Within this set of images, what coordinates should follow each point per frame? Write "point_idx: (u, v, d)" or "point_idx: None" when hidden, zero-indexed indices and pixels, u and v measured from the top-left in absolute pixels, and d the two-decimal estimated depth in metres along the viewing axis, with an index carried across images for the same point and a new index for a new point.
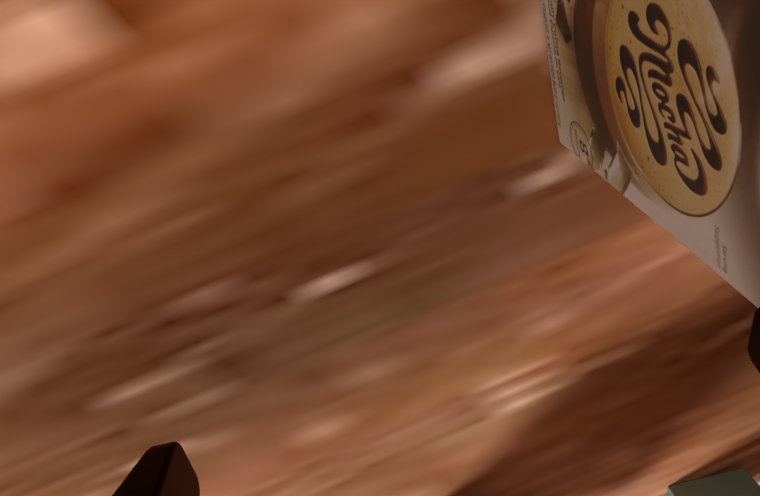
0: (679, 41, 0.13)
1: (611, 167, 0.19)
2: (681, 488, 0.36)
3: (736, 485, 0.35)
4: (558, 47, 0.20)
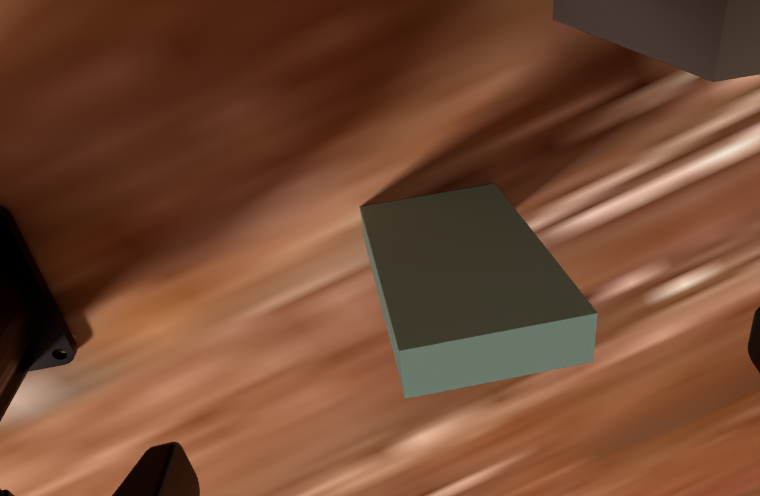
0: None
1: None
2: (379, 207, 0.21)
3: (470, 200, 0.20)
4: None
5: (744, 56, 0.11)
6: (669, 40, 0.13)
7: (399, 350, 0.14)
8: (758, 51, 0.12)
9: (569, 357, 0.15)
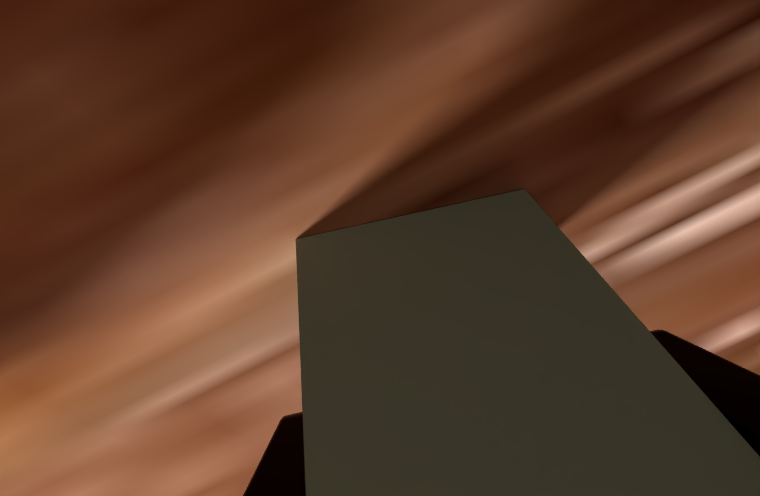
0: None
1: None
2: (327, 240, 0.12)
3: (484, 221, 0.12)
4: None
5: None
6: None
7: None
8: None
9: None
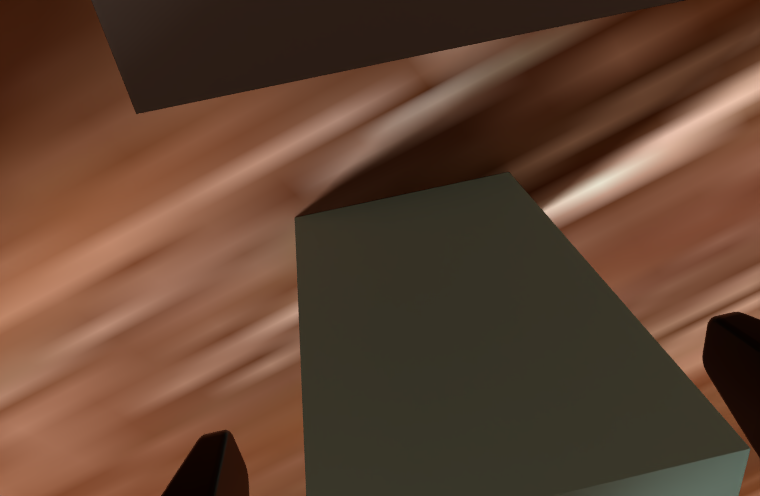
0: None
1: None
2: (324, 218, 0.13)
3: (470, 201, 0.12)
4: None
5: (202, 26, 0.04)
6: None
7: None
8: (252, 9, 0.04)
9: None
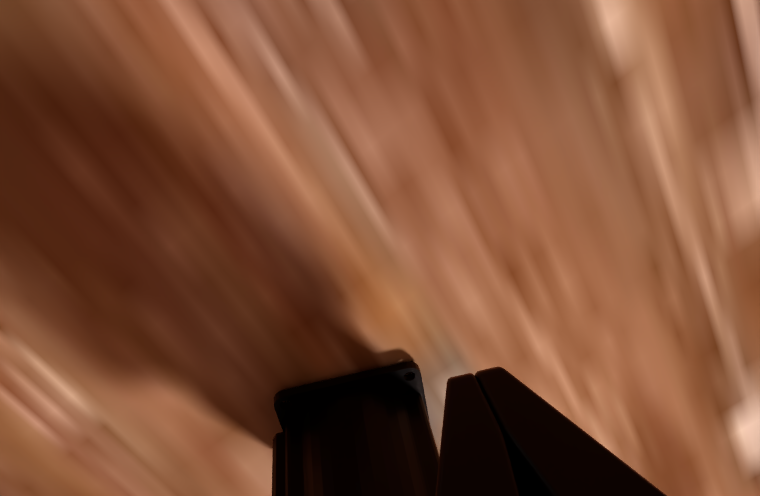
0: None
1: None
2: None
3: None
4: None
5: None
6: None
7: None
8: None
9: None
